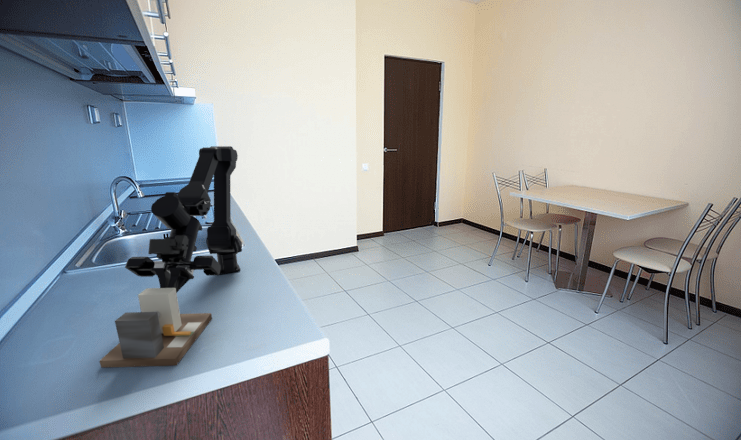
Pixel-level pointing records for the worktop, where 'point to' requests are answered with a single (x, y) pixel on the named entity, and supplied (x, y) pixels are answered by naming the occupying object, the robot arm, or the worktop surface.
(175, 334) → the drag pointer
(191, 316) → the board
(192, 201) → the robot arm
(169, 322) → the cream eraser-shaped block
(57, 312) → the worktop surface
